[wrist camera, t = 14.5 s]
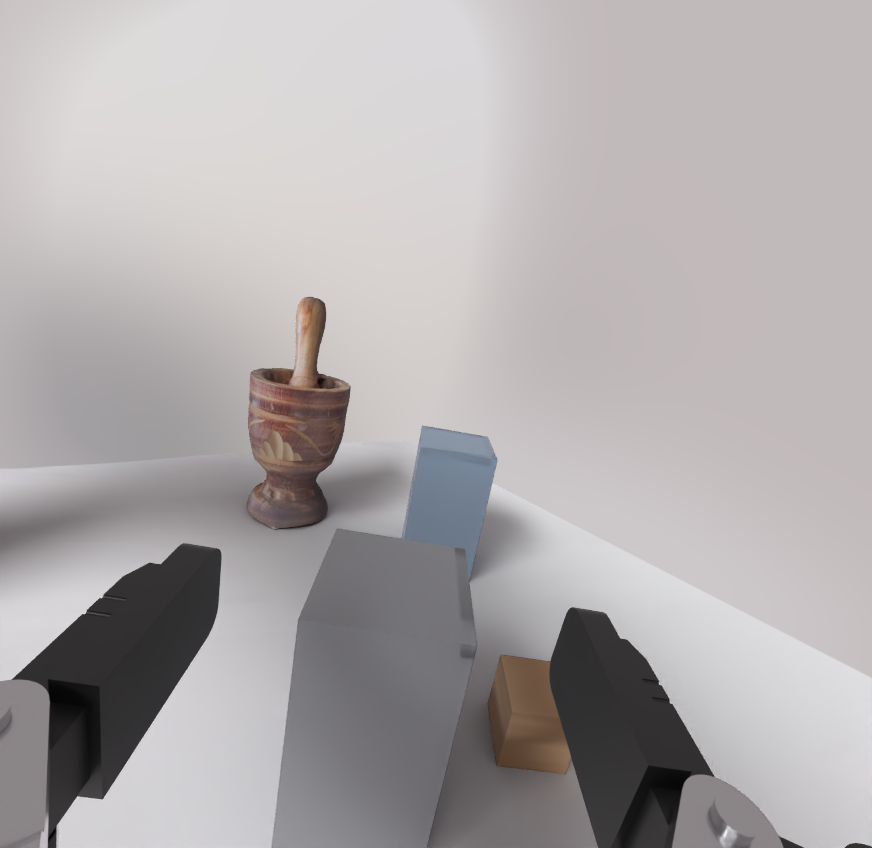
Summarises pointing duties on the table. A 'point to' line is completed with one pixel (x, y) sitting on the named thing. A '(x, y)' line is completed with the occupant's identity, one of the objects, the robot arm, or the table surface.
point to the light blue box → (450, 490)
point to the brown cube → (526, 717)
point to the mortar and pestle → (295, 428)
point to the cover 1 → (374, 694)
